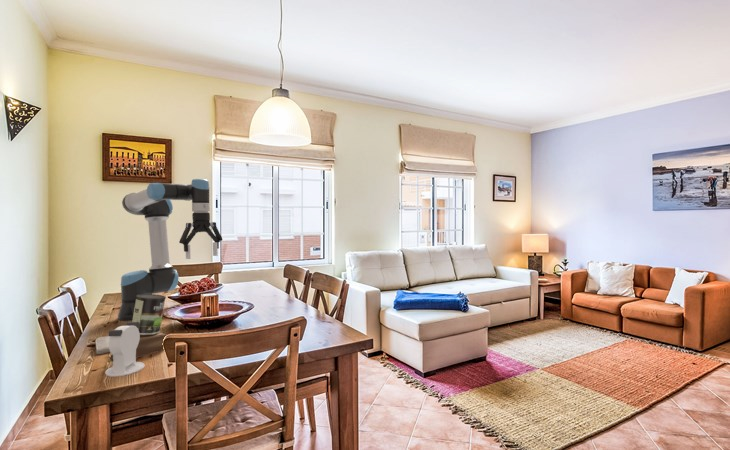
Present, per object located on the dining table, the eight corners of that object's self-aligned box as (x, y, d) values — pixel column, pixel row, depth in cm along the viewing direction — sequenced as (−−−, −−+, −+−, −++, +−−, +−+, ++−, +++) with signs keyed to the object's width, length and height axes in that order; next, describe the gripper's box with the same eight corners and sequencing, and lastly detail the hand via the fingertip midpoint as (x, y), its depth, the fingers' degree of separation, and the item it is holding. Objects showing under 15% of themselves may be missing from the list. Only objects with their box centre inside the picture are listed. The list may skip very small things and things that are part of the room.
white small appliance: (120, 362, 135) (119, 321, 134) (152, 361, 135) (150, 320, 134) (97, 376, 123) (95, 331, 122) (131, 376, 123) (130, 331, 122)
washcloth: (128, 337, 163) (128, 330, 163) (133, 349, 149) (132, 341, 148) (95, 343, 156) (94, 336, 156) (96, 356, 141) (96, 348, 141)
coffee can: (165, 330, 153) (170, 296, 153) (149, 336, 142) (155, 299, 143) (141, 327, 153) (146, 292, 154) (123, 332, 143) (130, 295, 144)
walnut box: (119, 352, 145) (119, 336, 145) (152, 343, 155) (151, 328, 154) (133, 359, 138) (132, 342, 138) (166, 349, 147) (165, 333, 147)
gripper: (178, 212, 163) (180, 260, 164) (229, 212, 183) (230, 255, 184) (170, 212, 168) (171, 259, 168) (220, 212, 188) (221, 254, 189)
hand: (202, 257), depth 176 cm, fingers open, 13 cm apart
